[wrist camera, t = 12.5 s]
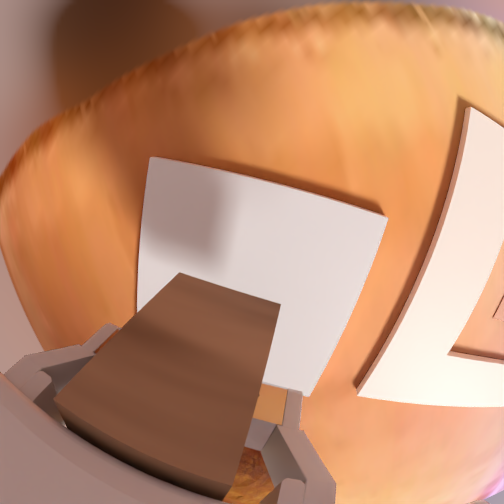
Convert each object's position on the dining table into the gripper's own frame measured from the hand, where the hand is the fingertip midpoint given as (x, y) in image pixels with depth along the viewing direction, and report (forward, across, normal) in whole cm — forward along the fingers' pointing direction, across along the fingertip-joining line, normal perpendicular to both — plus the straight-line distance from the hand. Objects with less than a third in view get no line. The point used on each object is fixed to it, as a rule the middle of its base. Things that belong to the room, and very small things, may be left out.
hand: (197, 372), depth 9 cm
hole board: (+7, +18, +4) cm, 19 cm away
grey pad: (+7, 0, 0) cm, 7 cm away
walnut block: (+2, 0, 0) cm, 3 cm away
